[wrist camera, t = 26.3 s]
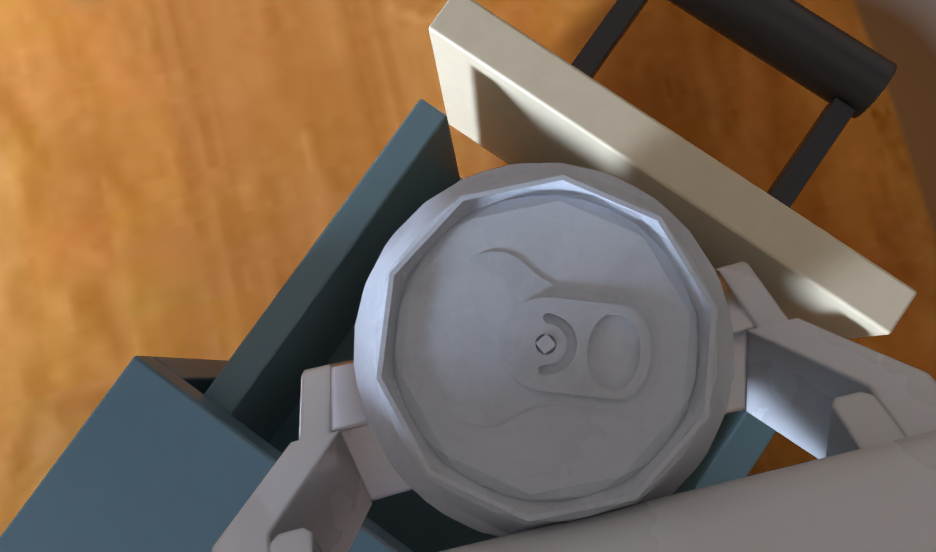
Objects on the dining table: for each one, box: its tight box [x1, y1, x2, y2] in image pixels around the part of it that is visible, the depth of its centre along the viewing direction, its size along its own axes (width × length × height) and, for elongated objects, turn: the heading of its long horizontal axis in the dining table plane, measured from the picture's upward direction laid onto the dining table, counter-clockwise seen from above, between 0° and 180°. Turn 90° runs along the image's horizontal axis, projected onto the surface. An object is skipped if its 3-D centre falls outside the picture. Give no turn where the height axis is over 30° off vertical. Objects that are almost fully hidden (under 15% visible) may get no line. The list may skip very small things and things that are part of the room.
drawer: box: [204, 0, 917, 552], centre depth 22 cm, size 21×13×7 cm, turn 145°
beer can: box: [354, 163, 734, 537], centre depth 15 cm, size 5×5×12 cm
